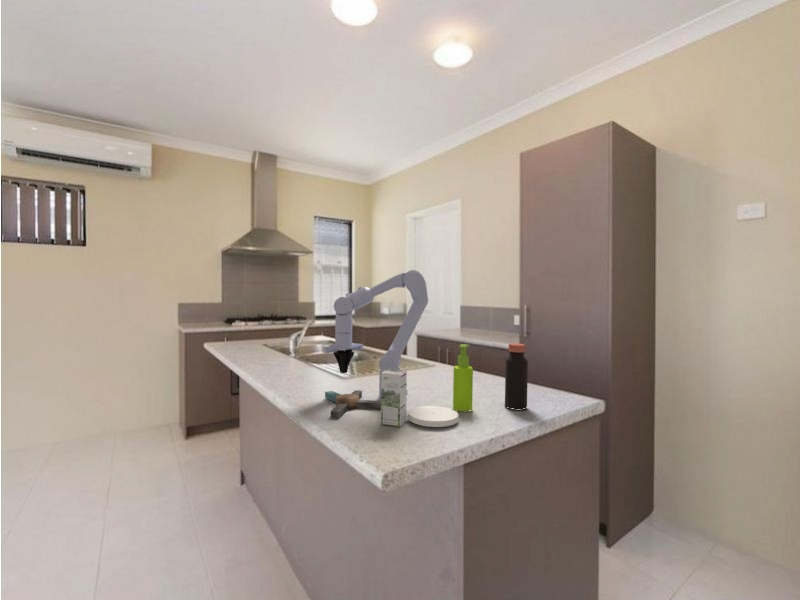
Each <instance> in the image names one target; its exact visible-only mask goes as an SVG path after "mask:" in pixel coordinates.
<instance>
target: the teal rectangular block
mask: <svg viewBox="0 0 800 600" xmlns="http://www.w3.org/2000/svg"><path fill="white" fill-rule="evenodd" d="M338 395H342V394H341V393H338V392H336V391H334V390H328V391H324V398H325V399H327V400H329V401H331V402H334V403H336V397H337V396H338Z"/></svg>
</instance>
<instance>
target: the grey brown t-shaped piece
mask: <svg viewBox="0 0 800 600" xmlns="http://www.w3.org/2000/svg"><path fill="white" fill-rule="evenodd" d="M362 397H363V391H362V390H353V392H351V393H342V394H341V395H338V396H337V397H336V402H335V403H336V406H334V407H333V408H332V409H331V410H330V419H334V418H337V419H338V420H339V419H341V418H342V417H343V416H344V415H345V414H346V413H347V412H348V411H350V410H351V411H352V410H355V409H361V410H362V409H365V410H379V411H381V401H377V400H374V399H373V400H371V399H369V400H368V399H361V398H362ZM344 413H345V414H344ZM337 419H336V420H337Z"/></svg>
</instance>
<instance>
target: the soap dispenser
mask: <svg viewBox="0 0 800 600" xmlns="http://www.w3.org/2000/svg"><path fill="white" fill-rule="evenodd" d="M470 346H471V345H470V344H464V343H461V344H460V345H459V348H460V354H459V355H457V365H455V366H453V376H452V377H453V379H452V380H453V386H452V390H453V391H452V397H453V398H452V410H453V409H454V410H457V411H456V412H458V411H469V410H472V411H473V388H474V387H473V381H474V376H473V375H474V368H473V367H472V366H470V356H469V355H468V354H467V348H468V347H470Z"/></svg>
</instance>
